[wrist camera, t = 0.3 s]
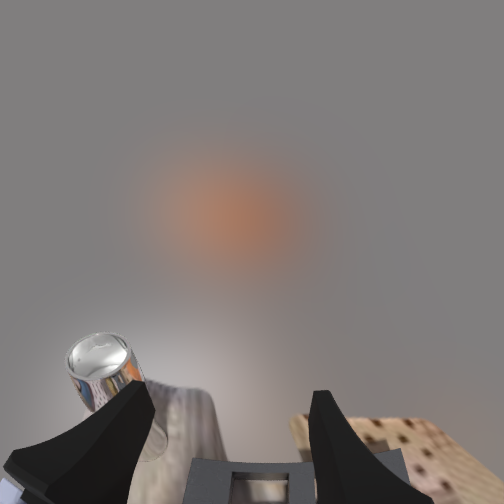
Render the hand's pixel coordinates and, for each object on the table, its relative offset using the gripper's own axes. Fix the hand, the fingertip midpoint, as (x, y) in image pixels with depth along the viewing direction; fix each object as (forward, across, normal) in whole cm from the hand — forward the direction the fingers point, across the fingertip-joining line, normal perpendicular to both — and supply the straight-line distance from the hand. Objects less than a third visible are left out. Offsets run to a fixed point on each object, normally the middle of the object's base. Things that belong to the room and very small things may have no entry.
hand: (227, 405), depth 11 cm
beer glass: (+9, +13, +20) cm, 25 cm away
